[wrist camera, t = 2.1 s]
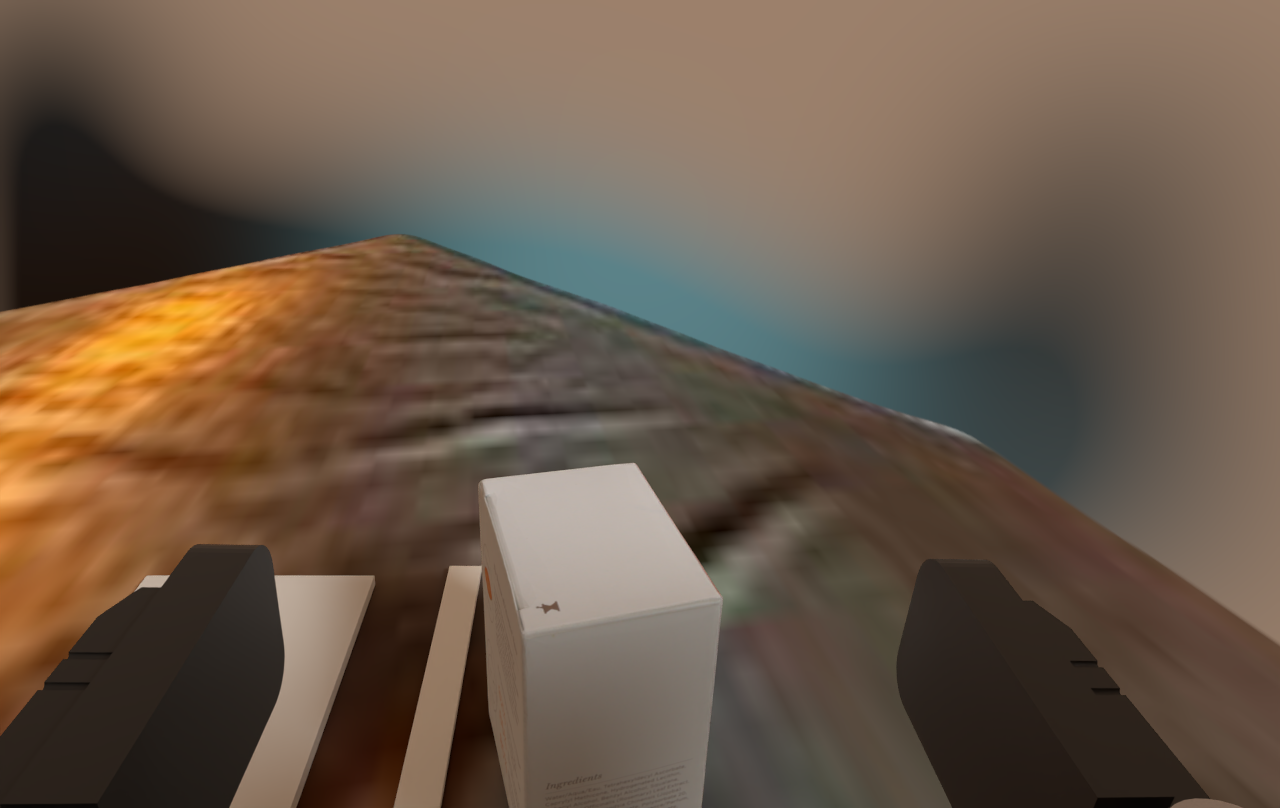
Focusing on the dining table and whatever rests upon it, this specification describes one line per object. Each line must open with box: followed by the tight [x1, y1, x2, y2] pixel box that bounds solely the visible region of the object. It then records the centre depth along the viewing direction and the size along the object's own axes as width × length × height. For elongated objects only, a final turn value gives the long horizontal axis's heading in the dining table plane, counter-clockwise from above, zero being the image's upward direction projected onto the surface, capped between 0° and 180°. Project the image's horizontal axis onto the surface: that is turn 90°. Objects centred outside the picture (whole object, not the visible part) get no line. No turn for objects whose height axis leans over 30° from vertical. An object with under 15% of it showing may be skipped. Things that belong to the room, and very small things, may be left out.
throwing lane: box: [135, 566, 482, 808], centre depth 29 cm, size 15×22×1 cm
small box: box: [478, 463, 723, 808], centre depth 27 cm, size 8×6×10 cm
